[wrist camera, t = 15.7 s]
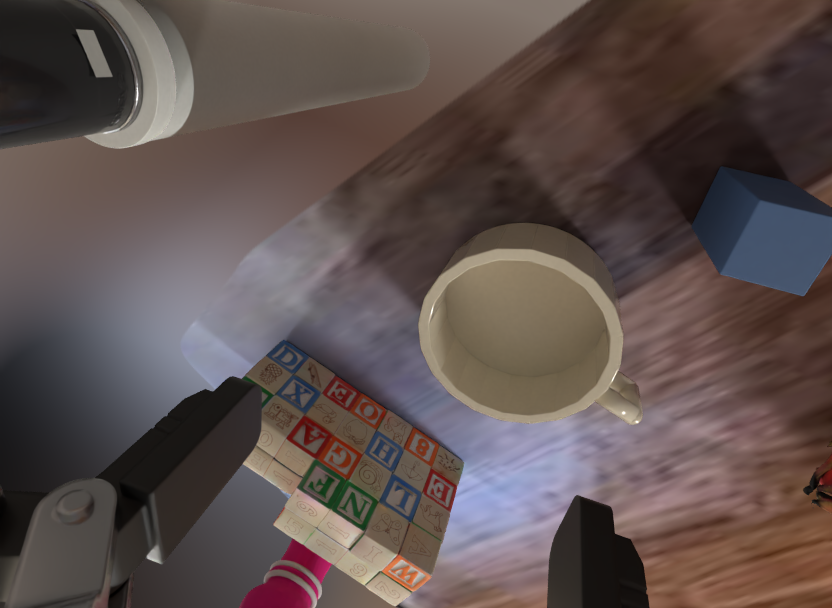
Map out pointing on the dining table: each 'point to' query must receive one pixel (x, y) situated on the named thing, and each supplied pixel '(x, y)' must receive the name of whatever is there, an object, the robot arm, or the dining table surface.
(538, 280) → the mug
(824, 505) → the dragon fruit
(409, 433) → the stack of blocks
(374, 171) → the dining table surface
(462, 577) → the dining table surface
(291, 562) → the pepper mill
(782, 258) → the block
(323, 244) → the dining table surface
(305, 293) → the dining table surface
